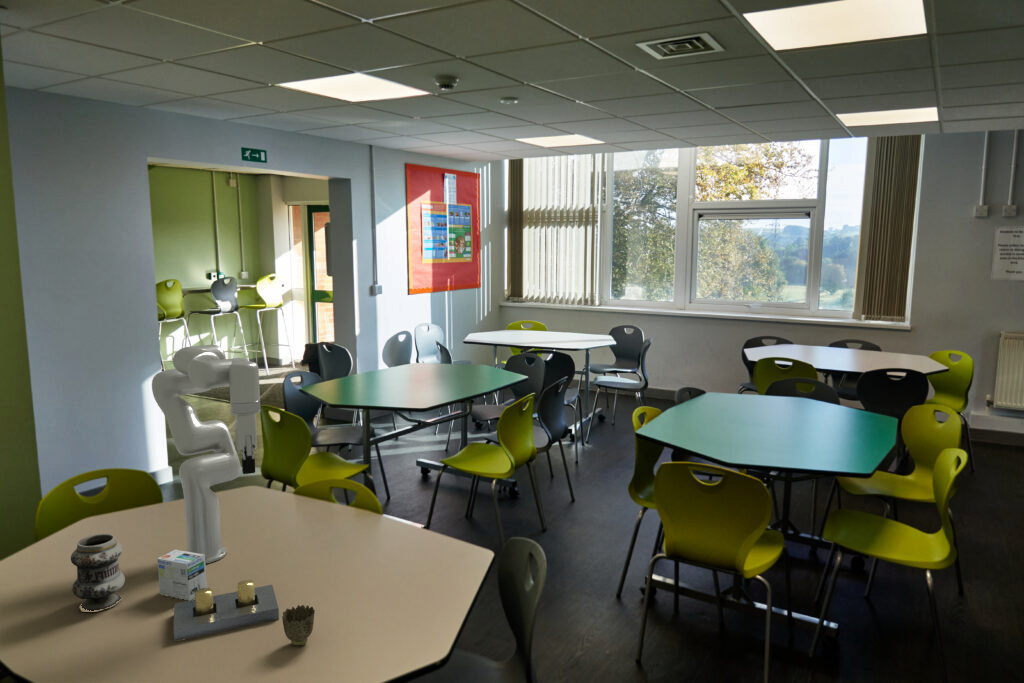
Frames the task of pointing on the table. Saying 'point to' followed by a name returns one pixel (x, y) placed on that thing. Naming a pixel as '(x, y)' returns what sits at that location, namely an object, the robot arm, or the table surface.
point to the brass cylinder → (246, 593)
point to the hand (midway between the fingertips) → (248, 472)
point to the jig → (224, 614)
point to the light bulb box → (181, 574)
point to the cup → (298, 624)
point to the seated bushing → (204, 602)
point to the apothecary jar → (97, 571)
